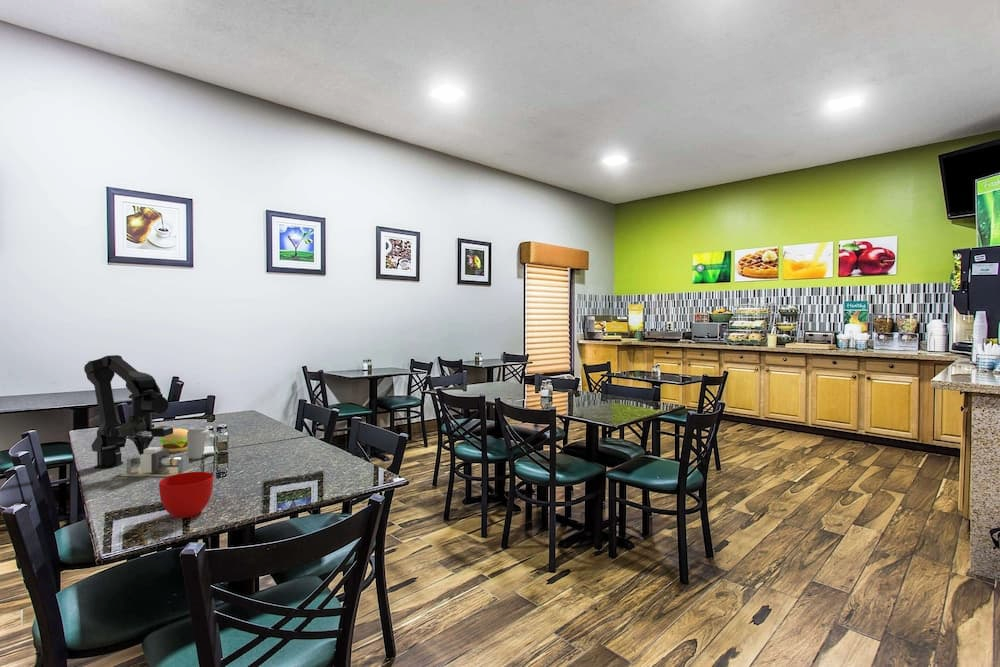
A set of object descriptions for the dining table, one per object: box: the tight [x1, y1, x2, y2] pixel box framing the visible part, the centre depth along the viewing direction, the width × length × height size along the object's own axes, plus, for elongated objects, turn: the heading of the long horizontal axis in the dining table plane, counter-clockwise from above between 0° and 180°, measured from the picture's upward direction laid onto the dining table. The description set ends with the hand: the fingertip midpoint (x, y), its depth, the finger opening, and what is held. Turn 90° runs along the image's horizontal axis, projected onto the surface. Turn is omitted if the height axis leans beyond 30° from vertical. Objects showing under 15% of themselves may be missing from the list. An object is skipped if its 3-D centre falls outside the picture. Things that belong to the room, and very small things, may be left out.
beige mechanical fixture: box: [119, 455, 195, 478], centre depth 180 cm, size 20×9×5 cm, turn 90°
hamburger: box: [159, 428, 189, 453], centre depth 212 cm, size 12×12×9 cm
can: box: [186, 425, 210, 460], centre depth 200 cm, size 8×8×12 cm
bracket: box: [139, 446, 162, 472], centre depth 180 cm, size 4×6×8 cm, turn 0°
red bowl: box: [158, 471, 214, 519], centre depth 144 cm, size 13×17×10 cm
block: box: [151, 449, 170, 473], centre depth 180 cm, size 2×7×6 cm, turn 0°
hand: (142, 455), depth 180 cm, fingers closed
